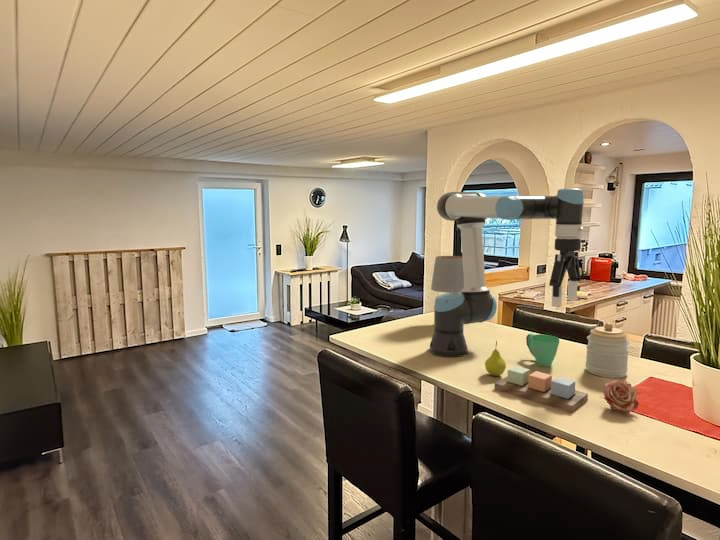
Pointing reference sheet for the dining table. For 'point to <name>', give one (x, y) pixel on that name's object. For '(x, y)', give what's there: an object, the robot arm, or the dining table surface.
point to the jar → (607, 352)
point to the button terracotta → (540, 381)
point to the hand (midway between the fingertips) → (564, 303)
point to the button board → (542, 395)
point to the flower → (621, 396)
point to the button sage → (518, 375)
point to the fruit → (495, 364)
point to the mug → (542, 348)
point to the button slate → (563, 387)
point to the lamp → (448, 274)
